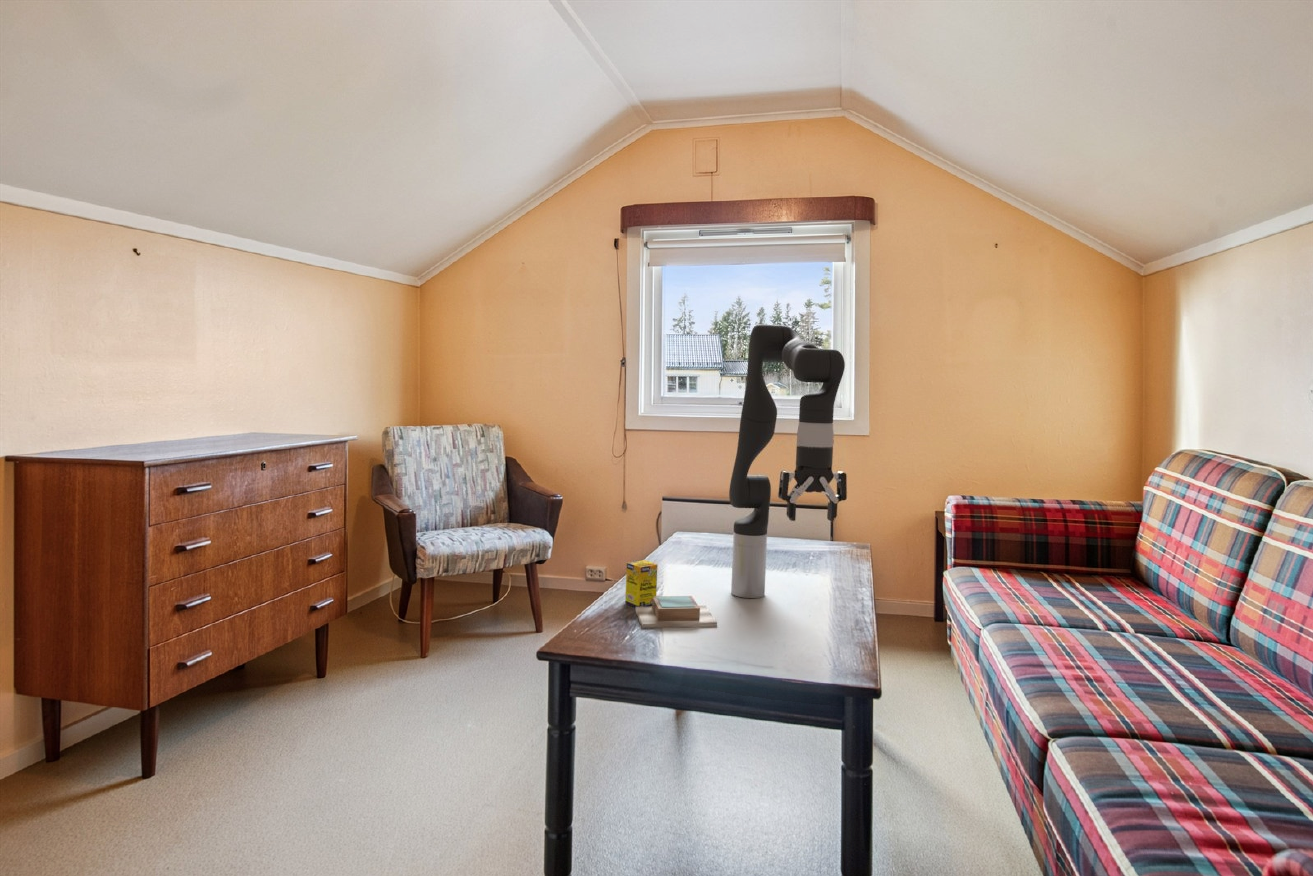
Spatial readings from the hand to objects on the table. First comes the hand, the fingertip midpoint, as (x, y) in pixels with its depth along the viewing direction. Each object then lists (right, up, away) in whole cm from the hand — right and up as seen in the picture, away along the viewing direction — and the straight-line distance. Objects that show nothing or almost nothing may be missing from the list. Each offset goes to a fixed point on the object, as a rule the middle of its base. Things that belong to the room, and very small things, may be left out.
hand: (811, 520), depth 150 cm
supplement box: (-37, -26, +34) cm, 56 cm away
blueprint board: (-28, -27, +23) cm, 45 cm away
